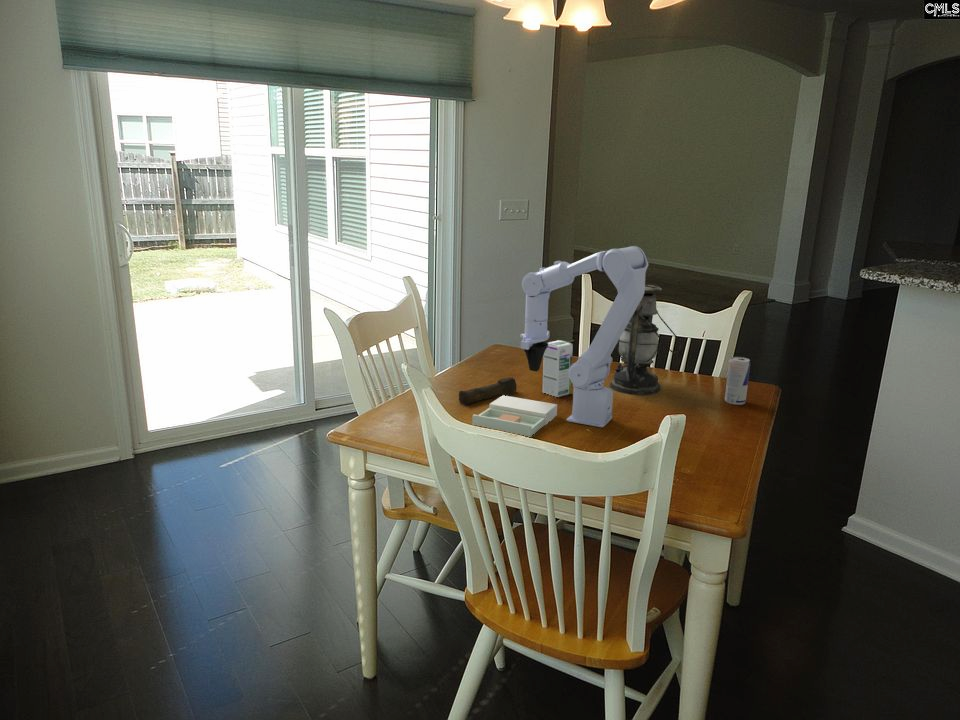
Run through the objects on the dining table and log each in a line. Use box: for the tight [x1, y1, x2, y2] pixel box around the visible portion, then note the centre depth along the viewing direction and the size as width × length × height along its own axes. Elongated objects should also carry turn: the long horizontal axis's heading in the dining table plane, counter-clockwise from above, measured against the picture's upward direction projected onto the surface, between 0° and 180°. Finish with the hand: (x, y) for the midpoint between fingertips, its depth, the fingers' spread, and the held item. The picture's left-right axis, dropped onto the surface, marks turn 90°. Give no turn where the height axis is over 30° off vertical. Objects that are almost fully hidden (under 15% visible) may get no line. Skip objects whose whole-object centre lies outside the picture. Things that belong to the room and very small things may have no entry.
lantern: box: [609, 283, 682, 396], centre depth 196 cm, size 19×19×30 cm
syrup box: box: [542, 339, 574, 398], centre depth 192 cm, size 6×6×14 cm
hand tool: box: [458, 377, 517, 406], centre depth 189 cm, size 19×4×5 cm, turn 127°
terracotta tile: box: [497, 414, 521, 423], centre depth 168 cm, size 4×4×2 cm
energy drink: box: [724, 356, 751, 406], centre depth 188 cm, size 5×5×12 cm
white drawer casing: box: [488, 395, 558, 426], centre depth 176 cm, size 15×8×3 cm, turn 63°
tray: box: [471, 407, 546, 438], centre depth 169 cm, size 15×9×3 cm, turn 63°
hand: (534, 370), depth 182 cm, fingers closed
